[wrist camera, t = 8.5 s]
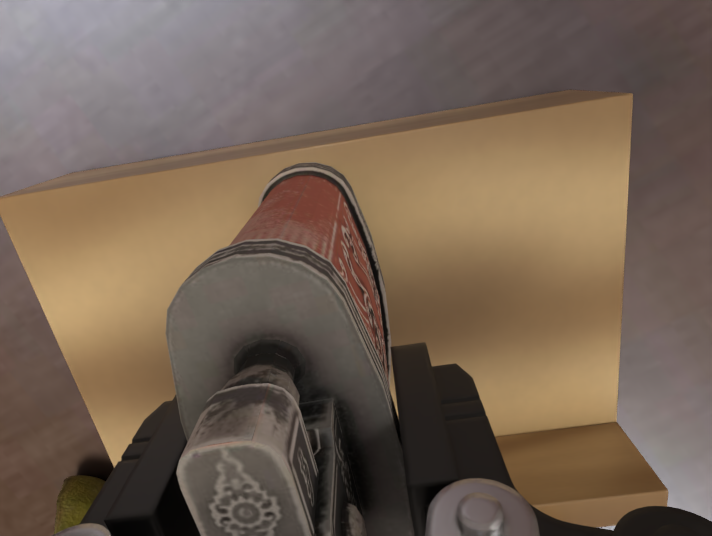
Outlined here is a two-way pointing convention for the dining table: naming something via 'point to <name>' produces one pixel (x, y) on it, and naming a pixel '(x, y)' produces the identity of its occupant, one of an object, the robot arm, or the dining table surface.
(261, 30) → the dining table surface
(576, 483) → the shelf
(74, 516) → the lime
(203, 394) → the lighter
